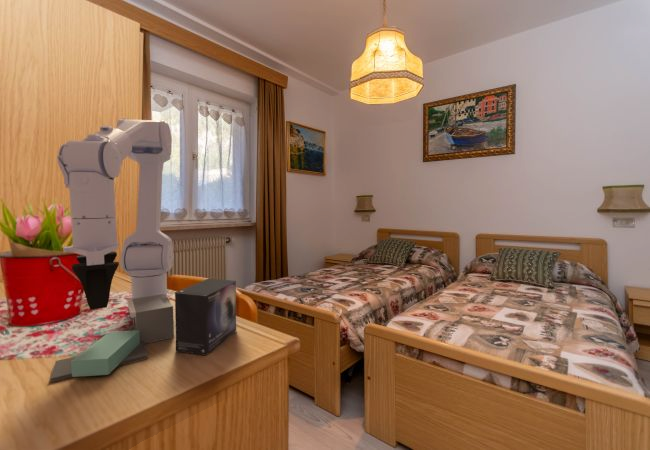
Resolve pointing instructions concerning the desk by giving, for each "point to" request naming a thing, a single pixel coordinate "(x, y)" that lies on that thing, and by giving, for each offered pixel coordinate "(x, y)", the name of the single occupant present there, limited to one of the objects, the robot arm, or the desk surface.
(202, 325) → the small box
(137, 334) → the green block
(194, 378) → the desk surface
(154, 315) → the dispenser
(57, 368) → the mat
